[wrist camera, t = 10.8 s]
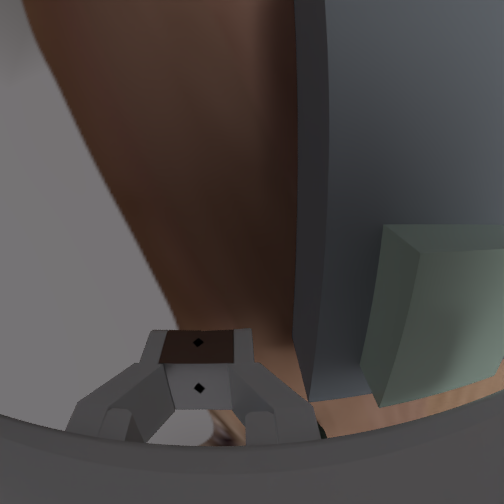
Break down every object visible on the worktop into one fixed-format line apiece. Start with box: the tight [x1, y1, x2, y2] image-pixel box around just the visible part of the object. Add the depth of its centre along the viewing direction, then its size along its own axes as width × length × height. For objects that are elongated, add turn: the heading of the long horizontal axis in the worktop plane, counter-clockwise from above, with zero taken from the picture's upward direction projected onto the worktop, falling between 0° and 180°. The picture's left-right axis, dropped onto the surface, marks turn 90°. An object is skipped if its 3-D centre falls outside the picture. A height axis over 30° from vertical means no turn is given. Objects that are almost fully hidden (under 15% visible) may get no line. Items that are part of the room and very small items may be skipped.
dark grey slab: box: [292, 0, 504, 402], centre depth 12 cm, size 18×12×5 cm, turn 1°
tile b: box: [360, 224, 504, 408], centre depth 10 cm, size 6×6×2 cm
